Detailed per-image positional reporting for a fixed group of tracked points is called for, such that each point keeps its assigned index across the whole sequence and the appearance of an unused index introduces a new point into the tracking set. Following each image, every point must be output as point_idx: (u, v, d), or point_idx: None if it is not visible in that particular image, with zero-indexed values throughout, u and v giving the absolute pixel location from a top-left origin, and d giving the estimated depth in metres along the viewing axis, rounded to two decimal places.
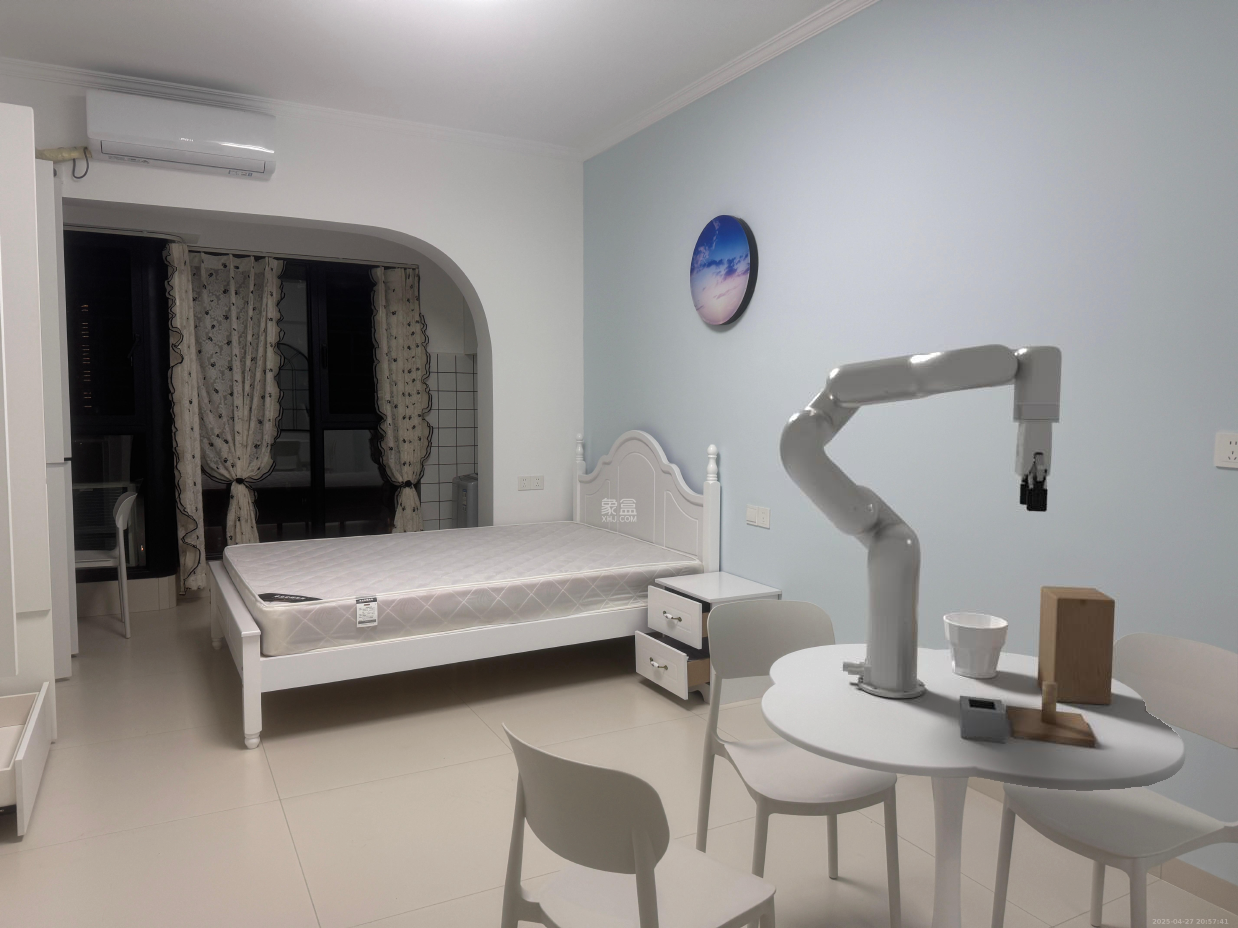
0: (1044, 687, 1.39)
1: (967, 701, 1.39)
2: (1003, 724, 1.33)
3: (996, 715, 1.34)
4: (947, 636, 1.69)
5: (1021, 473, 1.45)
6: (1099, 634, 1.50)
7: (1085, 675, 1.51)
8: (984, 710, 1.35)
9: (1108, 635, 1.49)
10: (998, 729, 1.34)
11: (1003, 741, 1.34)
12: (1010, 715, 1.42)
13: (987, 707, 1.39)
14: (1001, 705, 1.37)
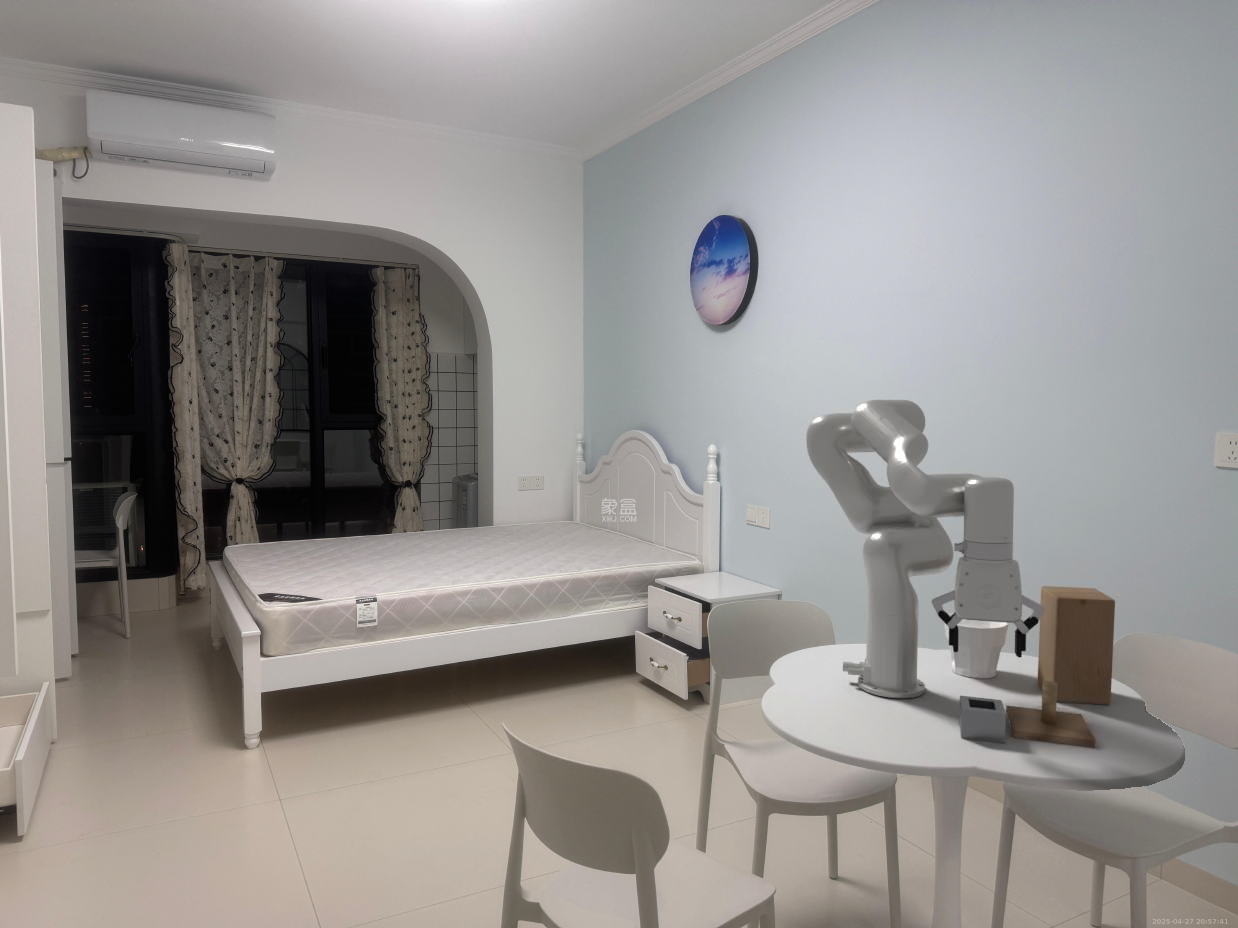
0: (1044, 687, 1.39)
1: (967, 701, 1.39)
2: (1003, 724, 1.33)
3: (996, 715, 1.34)
4: (947, 636, 1.69)
5: (1018, 619, 1.32)
6: (1099, 634, 1.50)
7: (1085, 675, 1.51)
8: (984, 710, 1.35)
9: (1108, 635, 1.49)
10: (998, 729, 1.34)
11: (1003, 741, 1.34)
12: (1010, 715, 1.42)
13: (987, 707, 1.39)
14: (1001, 705, 1.37)
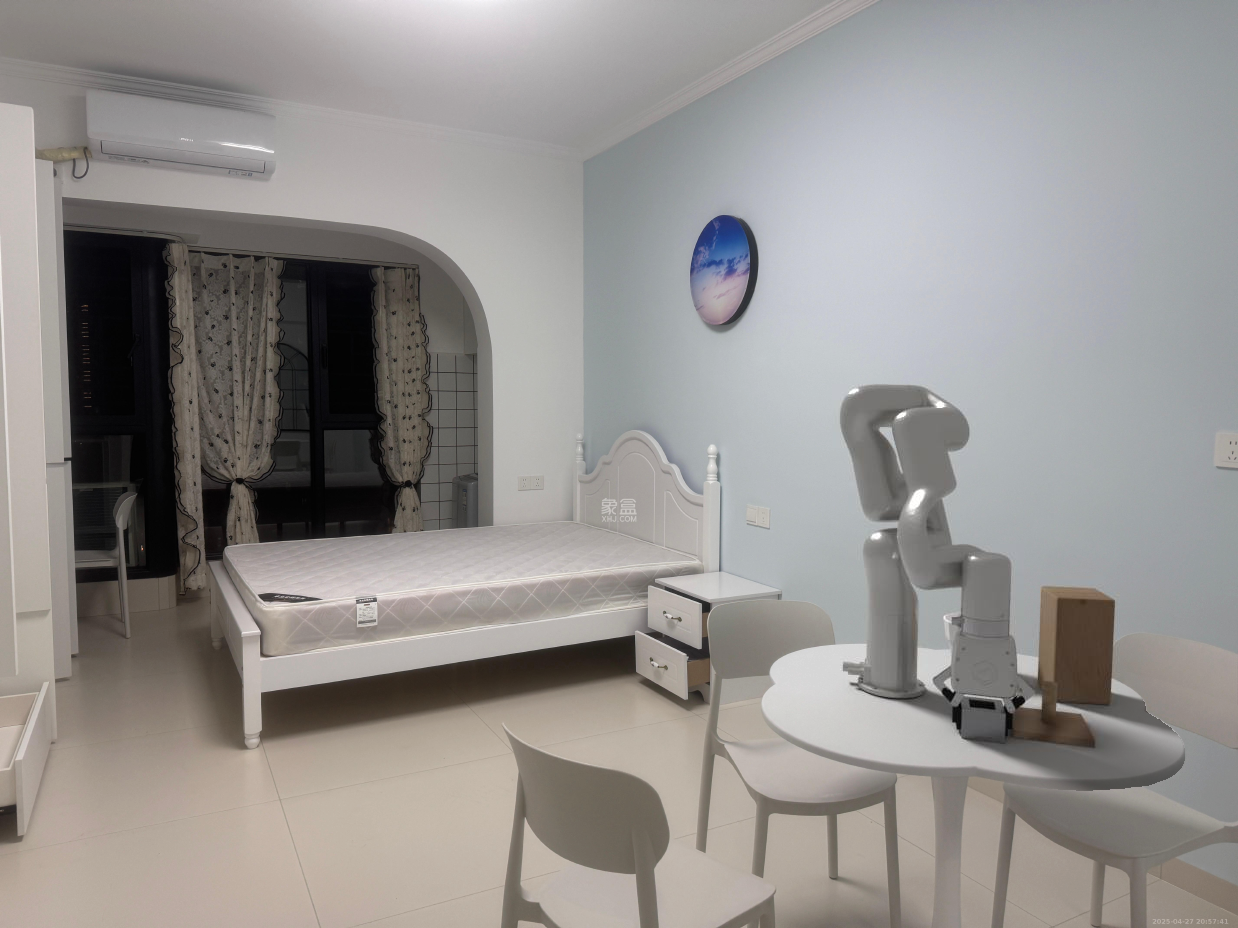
0: (1044, 687, 1.39)
1: (967, 701, 1.39)
2: (1003, 724, 1.33)
3: (996, 715, 1.34)
4: (947, 636, 1.69)
5: (1013, 695, 1.33)
6: (1099, 634, 1.50)
7: (1085, 675, 1.51)
8: (984, 710, 1.35)
9: (1108, 635, 1.49)
10: (998, 729, 1.34)
11: (1003, 741, 1.33)
12: None
13: (987, 707, 1.39)
14: (1001, 705, 1.37)
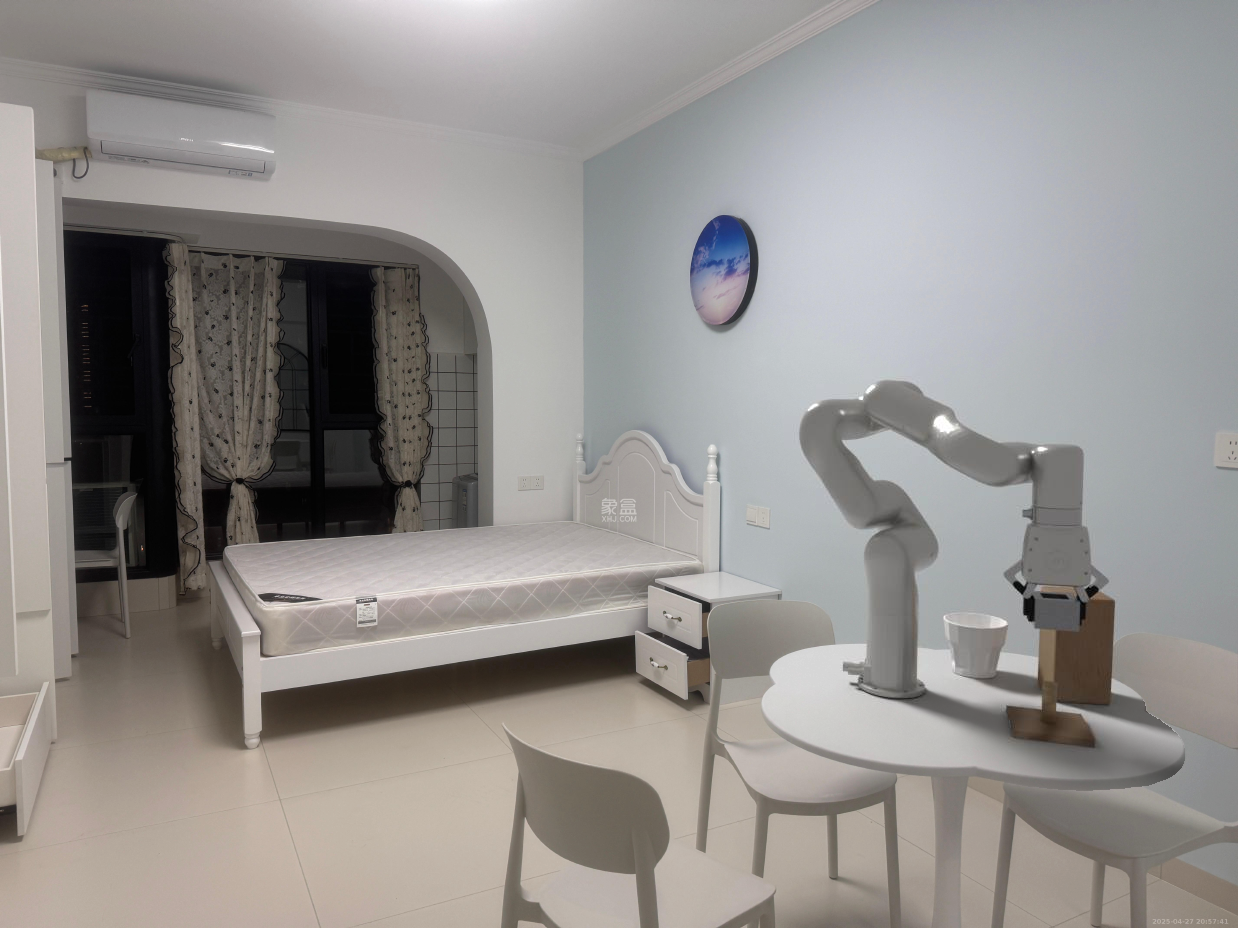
0: (1044, 687, 1.39)
1: (1039, 594, 1.39)
2: (1078, 612, 1.34)
3: (1070, 604, 1.34)
4: (947, 636, 1.69)
5: (1087, 583, 1.34)
6: (1099, 634, 1.50)
7: (1085, 675, 1.51)
8: (1058, 600, 1.35)
9: (1108, 635, 1.49)
10: (1072, 618, 1.34)
11: (1078, 630, 1.34)
12: (1010, 715, 1.42)
13: None
14: (1074, 596, 1.37)
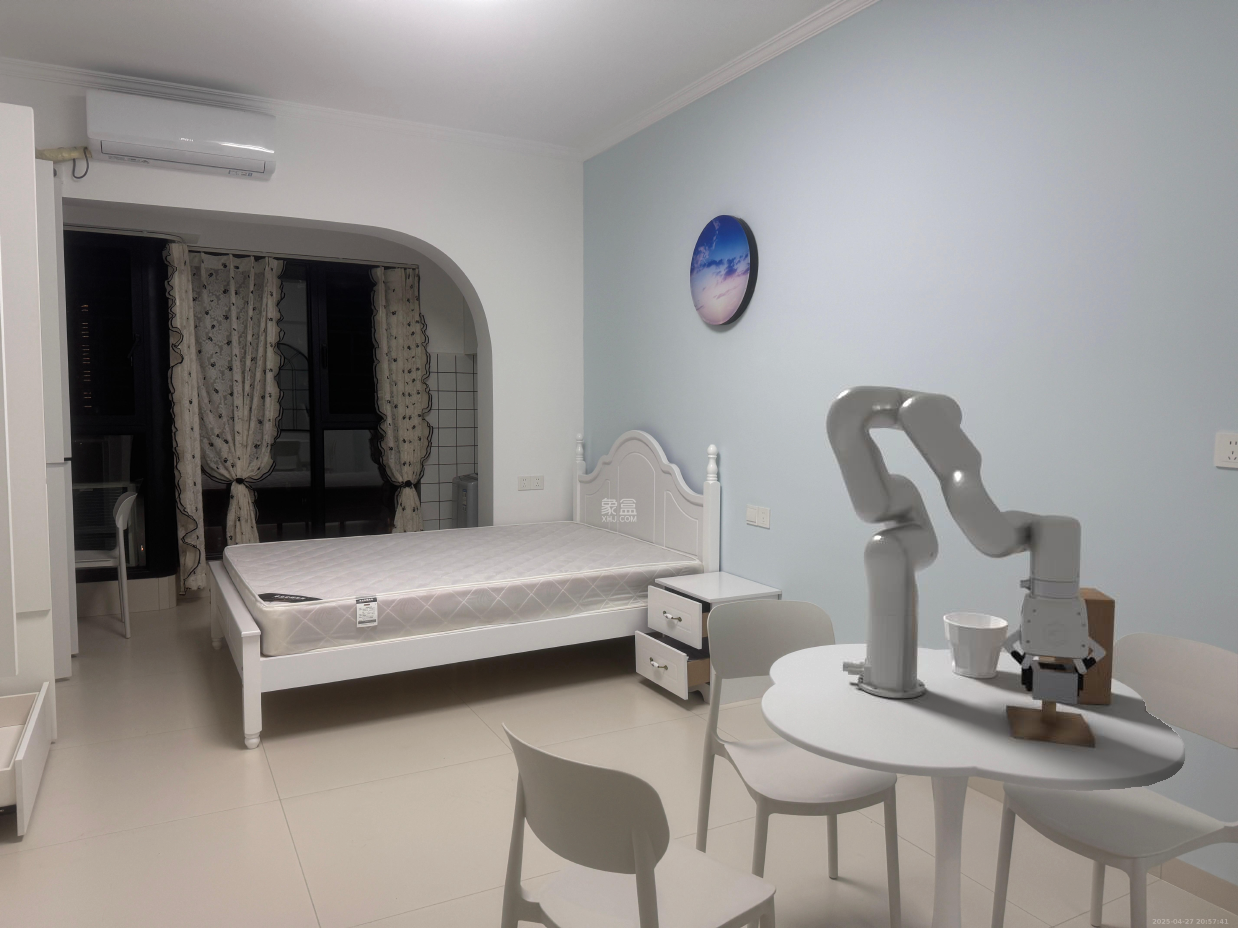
0: None
1: (1037, 664, 1.40)
2: (1075, 685, 1.34)
3: (1068, 676, 1.35)
4: (947, 636, 1.69)
5: (1085, 655, 1.34)
6: (1099, 634, 1.50)
7: (1085, 675, 1.51)
8: (1056, 671, 1.36)
9: (1108, 635, 1.49)
10: (1070, 690, 1.35)
11: (1075, 702, 1.35)
12: (1010, 715, 1.42)
13: (1056, 670, 1.40)
14: (1071, 667, 1.38)
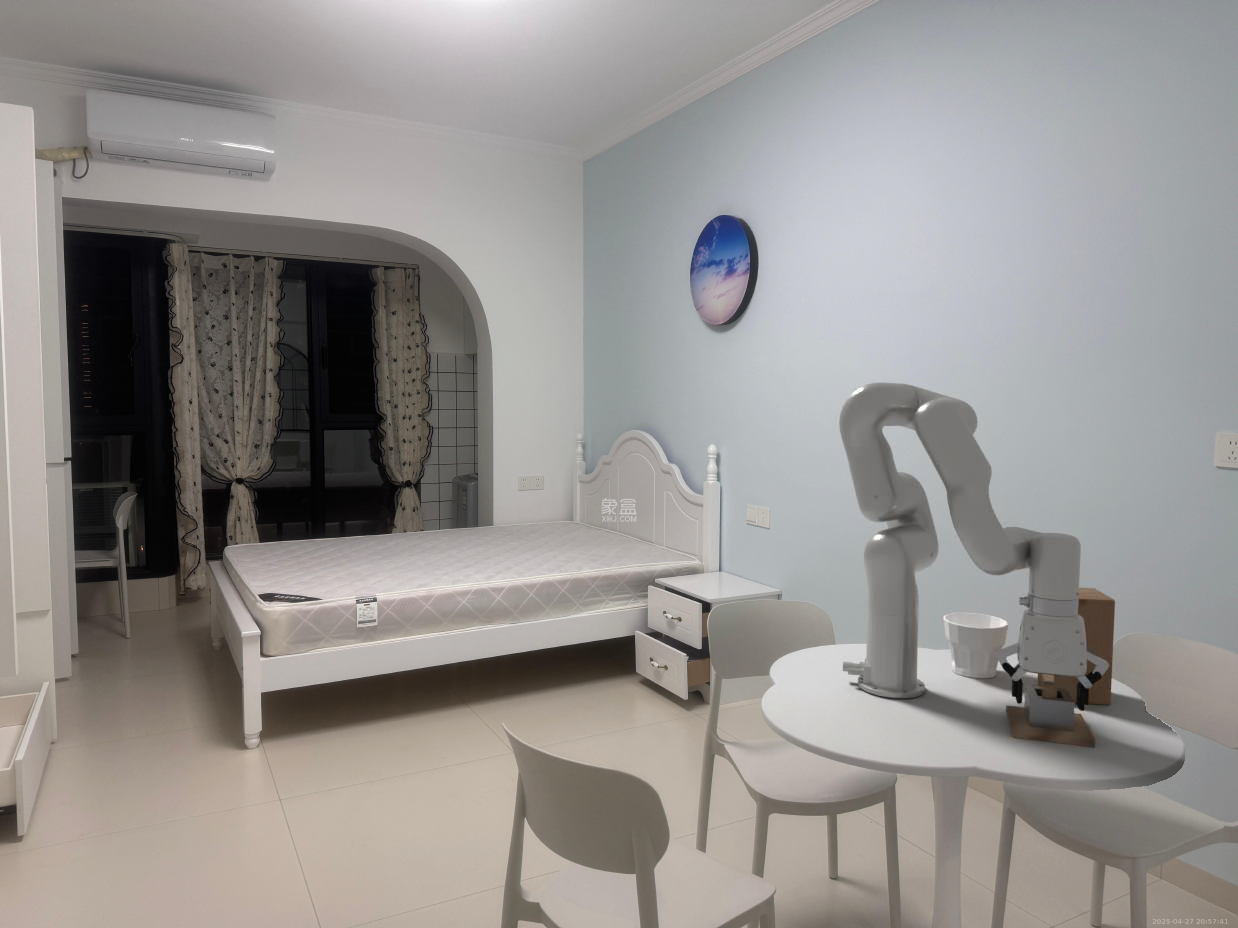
0: (1044, 687, 1.39)
1: (1034, 690, 1.40)
2: (1072, 713, 1.35)
3: (1065, 704, 1.35)
4: (947, 636, 1.69)
5: (1083, 673, 1.35)
6: (1099, 634, 1.50)
7: None
8: (1052, 699, 1.36)
9: (1108, 635, 1.49)
10: (1066, 718, 1.35)
11: (1072, 729, 1.35)
12: (1010, 715, 1.42)
13: None
14: (1068, 694, 1.39)
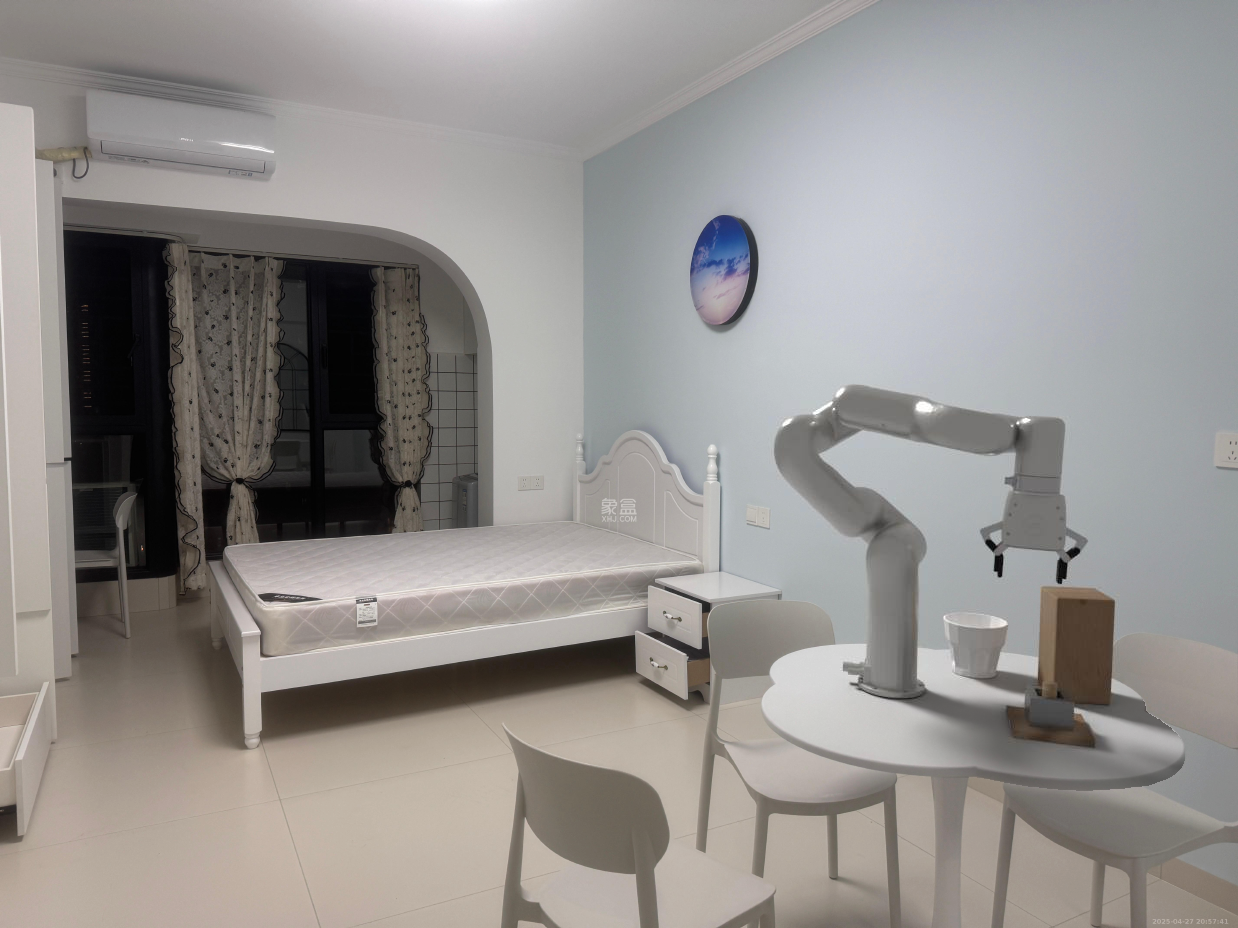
0: (1044, 687, 1.39)
1: (1034, 690, 1.40)
2: (1072, 713, 1.35)
3: (1065, 704, 1.35)
4: (947, 636, 1.69)
5: (1061, 548, 1.42)
6: (1099, 634, 1.50)
7: (1085, 675, 1.51)
8: (1052, 699, 1.36)
9: (1108, 635, 1.49)
10: (1066, 718, 1.35)
11: (1072, 729, 1.35)
12: (1010, 715, 1.42)
13: None
14: (1068, 694, 1.39)
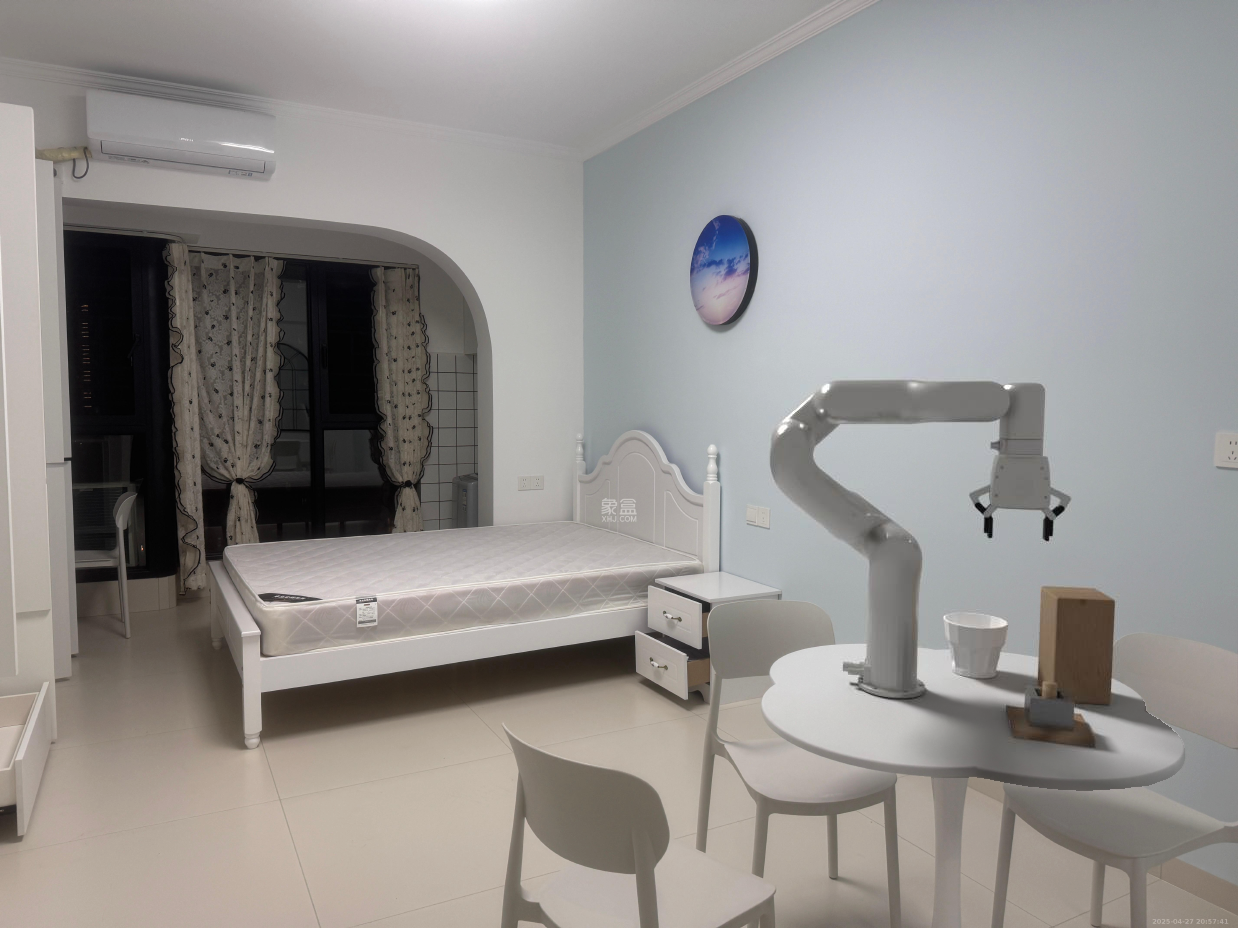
0: (1044, 687, 1.39)
1: (1034, 690, 1.40)
2: (1072, 713, 1.35)
3: (1065, 704, 1.35)
4: (947, 636, 1.69)
5: (1047, 506, 1.49)
6: (1099, 634, 1.50)
7: (1085, 675, 1.51)
8: (1052, 699, 1.36)
9: (1108, 635, 1.49)
10: (1066, 718, 1.35)
11: (1072, 729, 1.35)
12: (1010, 715, 1.42)
13: None
14: (1068, 694, 1.39)
